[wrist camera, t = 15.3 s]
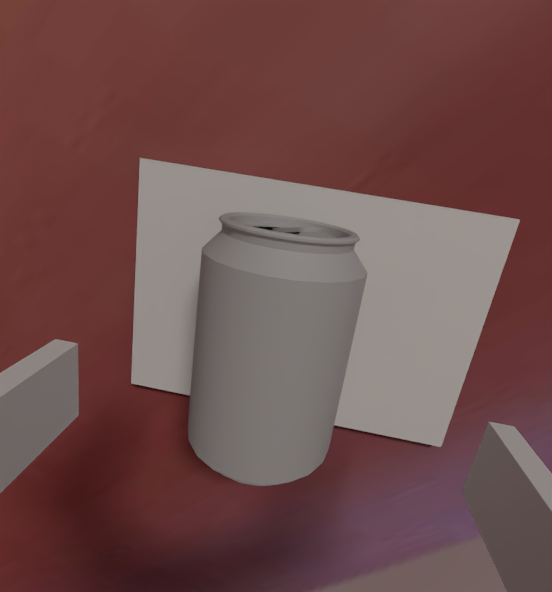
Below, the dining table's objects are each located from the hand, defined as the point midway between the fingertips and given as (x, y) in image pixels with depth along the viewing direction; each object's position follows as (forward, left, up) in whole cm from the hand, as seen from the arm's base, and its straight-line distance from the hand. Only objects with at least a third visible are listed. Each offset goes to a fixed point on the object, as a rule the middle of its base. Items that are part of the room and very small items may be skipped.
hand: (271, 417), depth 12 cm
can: (+4, -6, -7) cm, 9 cm away
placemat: (0, 0, -11) cm, 11 cm away
